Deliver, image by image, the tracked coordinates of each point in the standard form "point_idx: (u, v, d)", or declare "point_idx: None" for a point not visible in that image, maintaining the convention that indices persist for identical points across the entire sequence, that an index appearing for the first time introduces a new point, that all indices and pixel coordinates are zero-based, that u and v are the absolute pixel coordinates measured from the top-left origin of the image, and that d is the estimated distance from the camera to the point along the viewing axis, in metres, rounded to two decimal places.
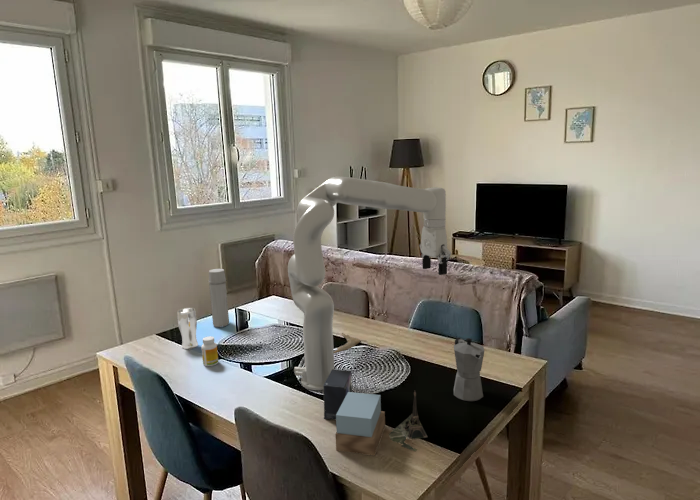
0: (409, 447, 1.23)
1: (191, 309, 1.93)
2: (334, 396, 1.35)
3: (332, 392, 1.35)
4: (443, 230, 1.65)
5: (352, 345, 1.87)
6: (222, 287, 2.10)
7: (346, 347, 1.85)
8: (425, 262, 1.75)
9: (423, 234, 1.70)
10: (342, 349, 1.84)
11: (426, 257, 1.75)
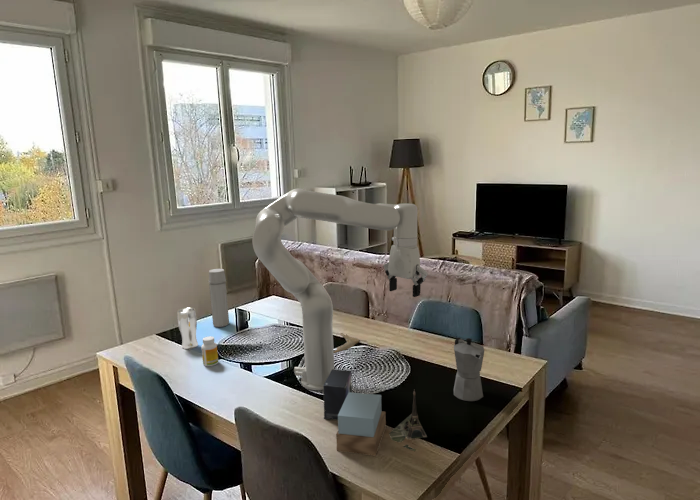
0: (408, 447, 1.23)
1: (191, 309, 1.93)
2: (334, 396, 1.35)
3: (332, 392, 1.35)
4: (417, 249, 1.54)
5: (351, 345, 1.88)
6: (222, 287, 2.10)
7: (345, 347, 1.85)
8: (392, 284, 1.62)
9: (393, 254, 1.57)
10: (342, 349, 1.84)
11: (393, 278, 1.62)
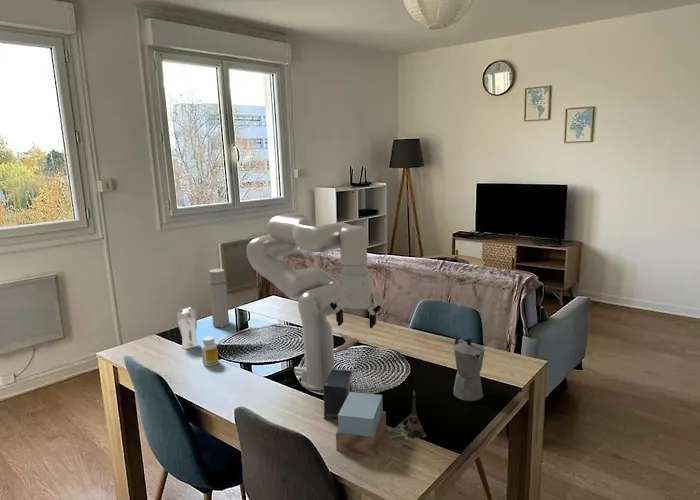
0: (408, 447, 1.23)
1: (191, 309, 1.93)
2: (334, 396, 1.35)
3: (332, 392, 1.35)
4: (369, 275, 1.39)
5: (351, 345, 1.88)
6: (222, 287, 2.10)
7: (345, 347, 1.85)
8: (340, 317, 1.43)
9: (342, 284, 1.38)
10: (341, 349, 1.84)
11: (340, 311, 1.43)
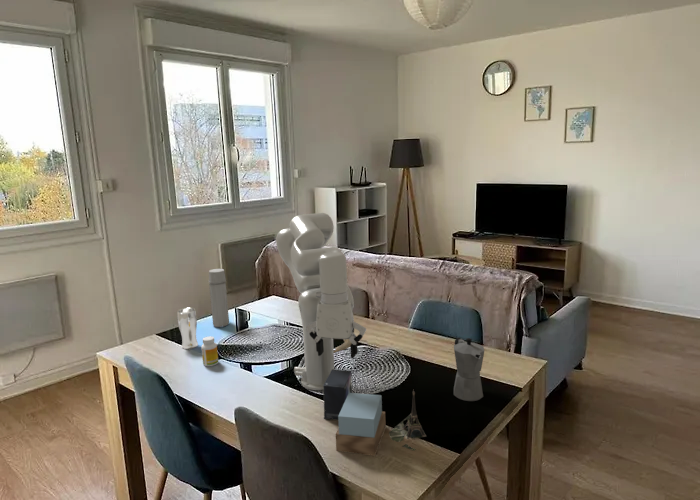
0: (408, 446, 1.23)
1: (191, 309, 1.93)
2: (334, 396, 1.35)
3: (332, 392, 1.35)
4: (350, 303, 1.34)
5: None
6: (222, 287, 2.10)
7: (344, 347, 1.86)
8: (320, 347, 1.38)
9: (322, 313, 1.33)
10: (340, 349, 1.84)
11: (320, 340, 1.38)
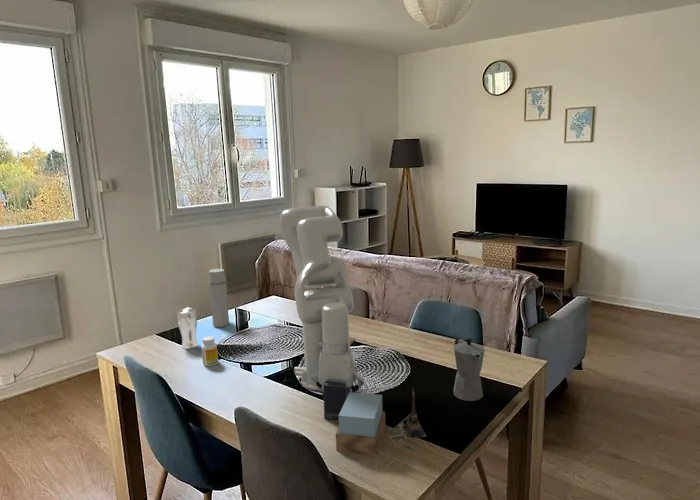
0: (408, 446, 1.23)
1: (191, 309, 1.93)
2: (334, 396, 1.35)
3: (332, 392, 1.35)
4: None
5: None
6: (222, 287, 2.10)
7: None
8: None
9: (324, 362, 1.36)
10: None
11: None
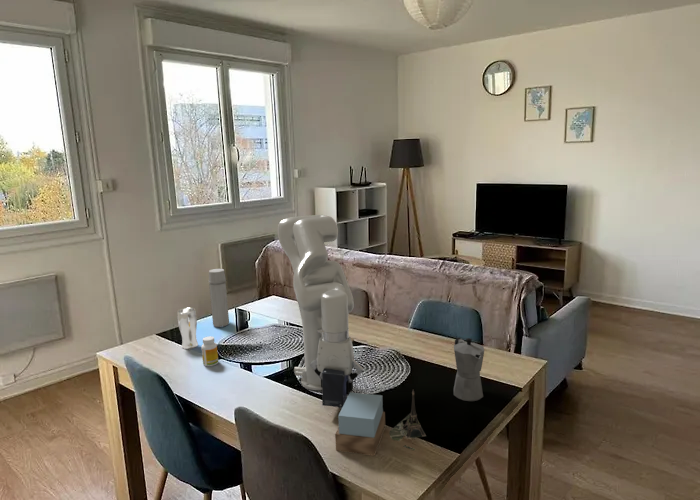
0: (408, 446, 1.23)
1: (191, 309, 1.93)
2: (333, 383, 1.35)
3: (330, 380, 1.35)
4: None
5: None
6: (222, 287, 2.10)
7: None
8: None
9: (323, 350, 1.36)
10: None
11: None
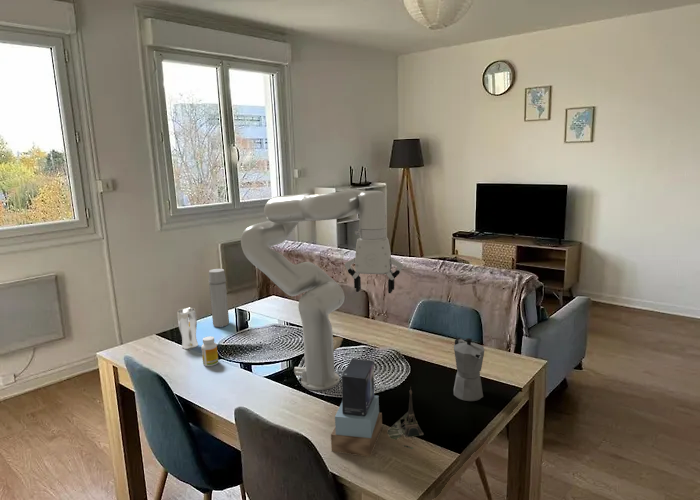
0: None
1: (191, 309, 1.93)
2: (354, 388, 1.19)
3: (351, 384, 1.19)
4: (388, 240, 1.39)
5: (339, 344, 1.89)
6: (222, 287, 2.10)
7: (336, 346, 1.87)
8: (358, 283, 1.43)
9: (361, 249, 1.38)
10: None
11: (358, 277, 1.43)
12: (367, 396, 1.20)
